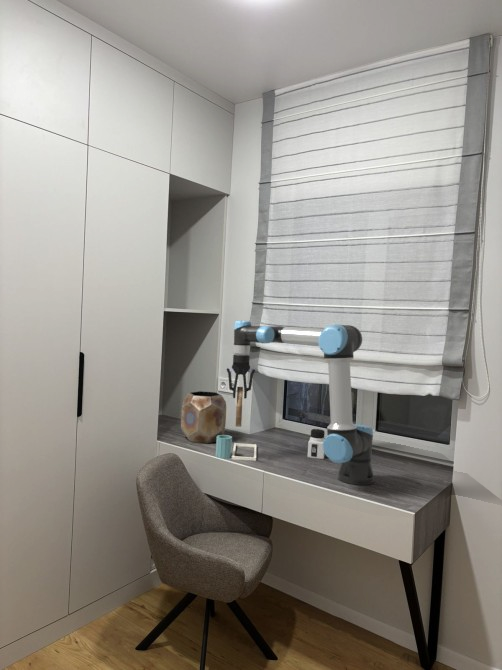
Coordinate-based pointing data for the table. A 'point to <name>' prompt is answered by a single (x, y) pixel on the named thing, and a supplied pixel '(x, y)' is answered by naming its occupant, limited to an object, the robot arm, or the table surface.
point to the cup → (223, 446)
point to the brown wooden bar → (239, 406)
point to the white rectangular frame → (244, 457)
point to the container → (316, 444)
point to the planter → (203, 416)
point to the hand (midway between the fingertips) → (239, 405)
